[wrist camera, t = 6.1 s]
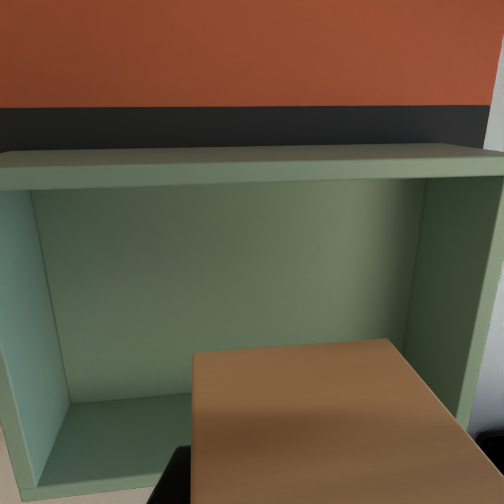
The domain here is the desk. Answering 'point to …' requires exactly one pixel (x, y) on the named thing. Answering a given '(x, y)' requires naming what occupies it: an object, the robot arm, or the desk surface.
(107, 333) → the open storage box
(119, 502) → the desk surface
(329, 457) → the beech block
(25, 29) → the placemat
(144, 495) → the desk surface
